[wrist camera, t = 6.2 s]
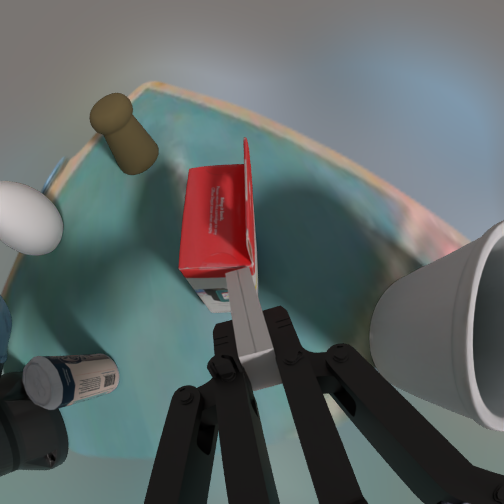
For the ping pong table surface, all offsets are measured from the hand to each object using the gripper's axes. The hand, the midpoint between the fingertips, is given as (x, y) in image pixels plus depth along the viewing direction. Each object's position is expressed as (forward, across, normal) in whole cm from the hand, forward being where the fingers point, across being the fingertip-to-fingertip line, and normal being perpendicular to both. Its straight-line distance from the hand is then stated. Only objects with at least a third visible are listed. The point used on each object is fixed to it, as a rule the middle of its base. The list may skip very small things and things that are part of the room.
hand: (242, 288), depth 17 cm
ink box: (+11, -1, -6) cm, 12 cm away
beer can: (+6, -19, -11) cm, 23 cm away
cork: (+25, -10, +8) cm, 28 cm away
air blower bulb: (+19, -24, +2) cm, 31 cm away
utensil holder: (+3, +17, -16) cm, 23 cm away
